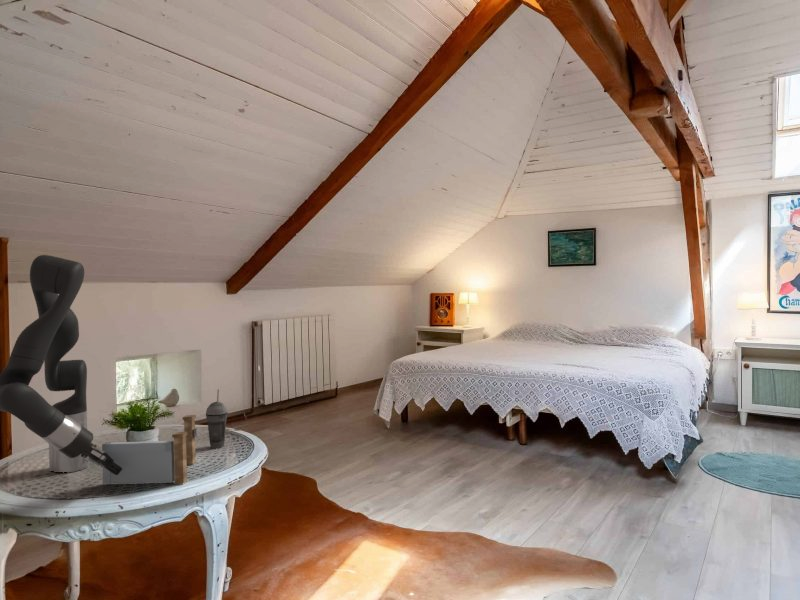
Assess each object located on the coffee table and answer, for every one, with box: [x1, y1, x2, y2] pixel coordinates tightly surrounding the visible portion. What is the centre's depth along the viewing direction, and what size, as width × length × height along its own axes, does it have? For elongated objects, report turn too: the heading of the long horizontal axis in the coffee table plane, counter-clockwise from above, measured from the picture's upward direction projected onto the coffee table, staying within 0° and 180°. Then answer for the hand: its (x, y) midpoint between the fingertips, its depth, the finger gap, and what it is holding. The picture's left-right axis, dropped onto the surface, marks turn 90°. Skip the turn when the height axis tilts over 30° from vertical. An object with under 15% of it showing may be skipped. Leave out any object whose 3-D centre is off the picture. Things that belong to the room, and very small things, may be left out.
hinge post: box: [171, 431, 188, 485], centre depth 149 cm, size 3×3×14 cm
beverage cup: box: [205, 389, 229, 450], centre depth 186 cm, size 7×7×20 cm
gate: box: [101, 440, 175, 485], centre depth 149 cm, size 19×2×11 cm, turn 91°
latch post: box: [182, 414, 198, 466], centre depth 167 cm, size 3×3×15 cm
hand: (118, 471), depth 146 cm, fingers closed
